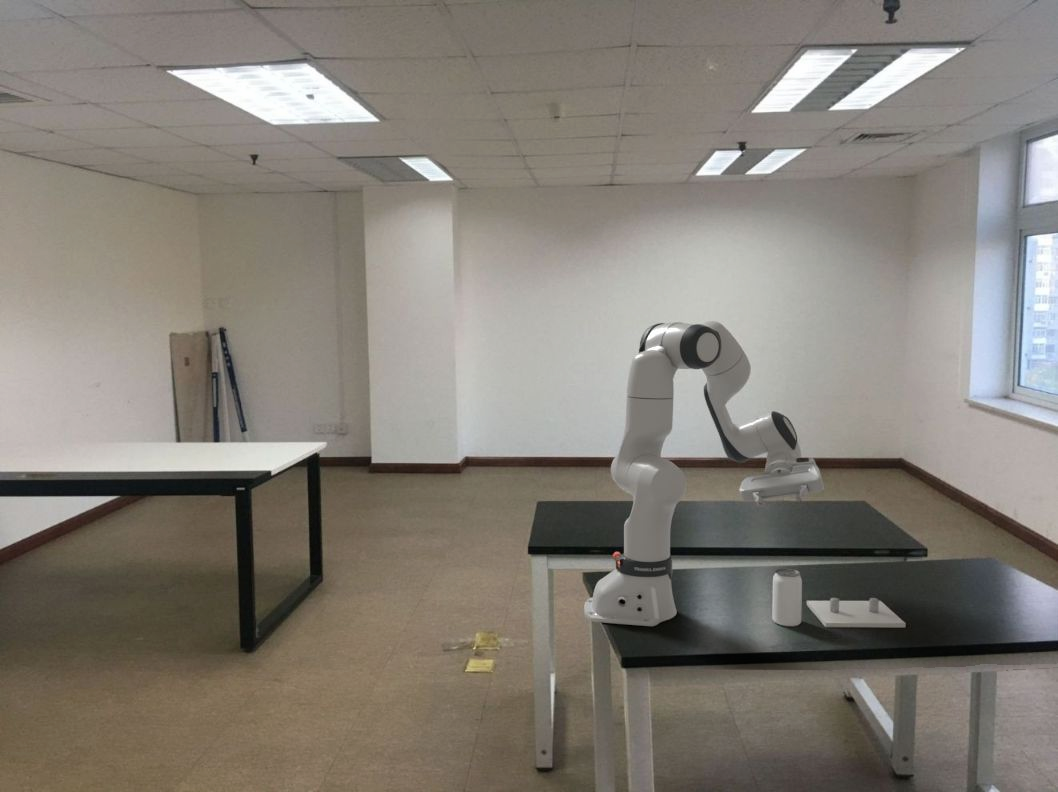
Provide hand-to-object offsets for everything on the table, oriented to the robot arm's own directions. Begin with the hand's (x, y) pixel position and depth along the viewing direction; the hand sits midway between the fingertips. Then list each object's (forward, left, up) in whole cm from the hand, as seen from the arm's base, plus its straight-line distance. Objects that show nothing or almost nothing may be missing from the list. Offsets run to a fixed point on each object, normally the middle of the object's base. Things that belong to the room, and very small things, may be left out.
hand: (779, 501), depth 185 cm
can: (0, -9, -27) cm, 28 cm away
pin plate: (+17, -5, -27) cm, 32 cm away
